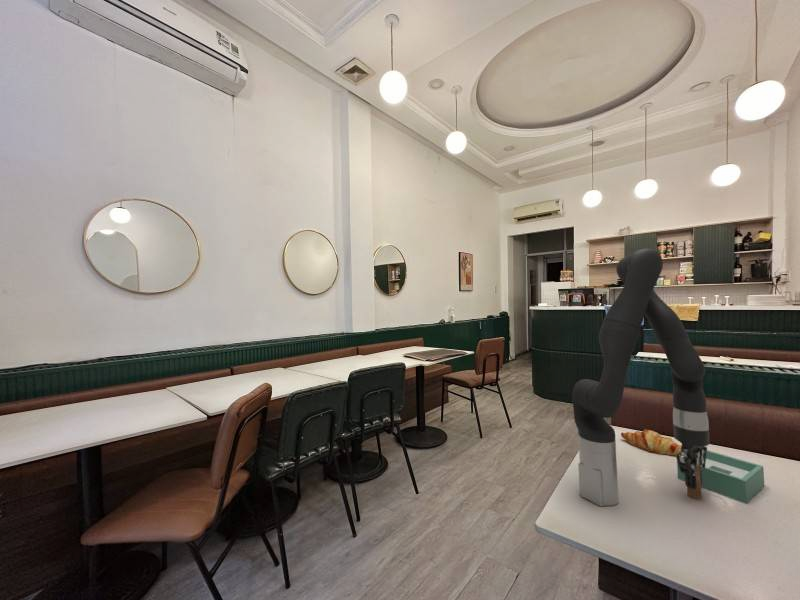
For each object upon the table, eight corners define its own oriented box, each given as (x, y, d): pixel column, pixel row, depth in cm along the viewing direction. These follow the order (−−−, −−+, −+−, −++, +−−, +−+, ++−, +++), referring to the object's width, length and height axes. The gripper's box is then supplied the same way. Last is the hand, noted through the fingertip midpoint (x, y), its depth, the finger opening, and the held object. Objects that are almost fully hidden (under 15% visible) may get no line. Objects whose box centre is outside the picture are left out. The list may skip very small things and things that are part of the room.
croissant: (693, 466, 113) (694, 443, 115) (687, 461, 107) (689, 437, 110) (623, 445, 130) (626, 426, 132) (615, 440, 124) (618, 420, 126)
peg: (699, 501, 88) (697, 464, 88) (685, 495, 91) (683, 460, 91) (703, 497, 90) (701, 461, 90) (690, 492, 92) (688, 457, 92)
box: (746, 503, 86) (745, 481, 86) (678, 478, 99) (676, 459, 100) (764, 486, 93) (763, 466, 94) (698, 465, 107) (697, 447, 107)
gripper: (697, 434, 84) (700, 500, 84) (718, 423, 91) (721, 484, 90) (662, 425, 91) (666, 486, 90) (684, 416, 97) (687, 472, 97)
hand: (693, 485), depth 90 cm, fingers closed on peg, 3 cm apart
